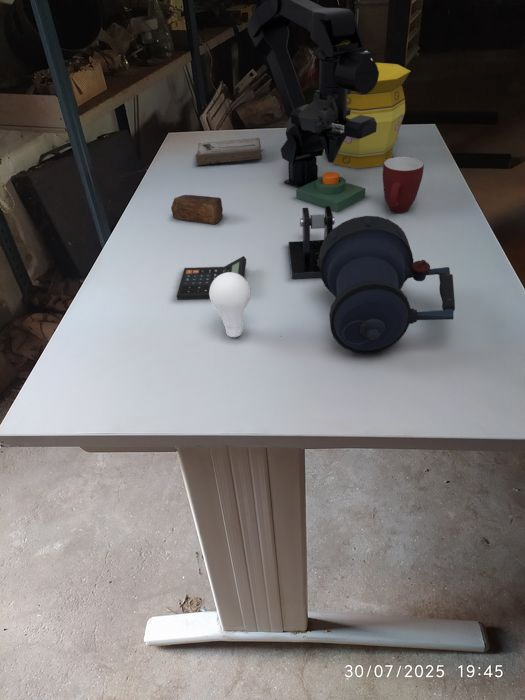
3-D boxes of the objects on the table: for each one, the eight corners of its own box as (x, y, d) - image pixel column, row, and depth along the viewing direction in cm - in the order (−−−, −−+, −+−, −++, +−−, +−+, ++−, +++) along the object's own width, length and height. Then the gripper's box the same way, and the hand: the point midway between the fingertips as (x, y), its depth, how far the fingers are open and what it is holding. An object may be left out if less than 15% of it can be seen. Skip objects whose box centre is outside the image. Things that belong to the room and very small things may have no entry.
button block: (296, 198, 124) (295, 181, 121) (323, 184, 129) (324, 168, 127) (337, 212, 117) (338, 194, 114) (365, 197, 122) (366, 180, 120)
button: (319, 183, 121) (319, 175, 120) (329, 178, 123) (329, 170, 122) (332, 187, 119) (332, 179, 118) (342, 181, 121) (342, 174, 120)
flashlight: (316, 288, 93) (433, 283, 92) (323, 375, 78) (464, 371, 77) (316, 212, 83) (448, 205, 82) (325, 295, 68) (487, 288, 67)
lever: (300, 228, 106) (299, 216, 105) (325, 227, 106) (325, 214, 105) (304, 229, 95) (303, 215, 94) (332, 227, 95) (332, 213, 94)
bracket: (288, 247, 106) (287, 199, 100) (339, 244, 106) (341, 196, 99) (292, 279, 97) (290, 229, 90) (347, 276, 96) (350, 225, 90)
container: (356, 179, 131) (362, 64, 115) (304, 156, 145) (303, 51, 129) (418, 158, 139) (432, 49, 123) (363, 138, 153) (369, 38, 138)
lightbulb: (214, 326, 87) (206, 266, 80) (252, 322, 87) (248, 262, 80) (215, 349, 82) (207, 288, 75) (255, 346, 82) (250, 284, 75)
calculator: (185, 271, 101) (182, 257, 99) (247, 270, 100) (246, 255, 98) (177, 299, 93) (174, 285, 91) (244, 298, 93) (243, 283, 91)
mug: (414, 224, 111) (420, 176, 104) (374, 220, 113) (378, 174, 107) (419, 203, 118) (425, 157, 112) (382, 200, 120) (386, 155, 114)
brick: (223, 217, 118) (221, 196, 115) (216, 225, 115) (213, 204, 112) (181, 212, 121) (177, 192, 118) (172, 219, 118) (169, 199, 115)
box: (262, 160, 142) (261, 148, 140) (196, 166, 142) (195, 154, 141) (261, 148, 150) (260, 136, 149) (199, 153, 151) (198, 142, 149)
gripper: (272, 86, 109) (274, 163, 119) (346, 100, 98) (342, 183, 108) (307, 75, 115) (307, 149, 125) (381, 87, 104) (374, 166, 114)
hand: (331, 161), depth 118 cm, fingers closed
